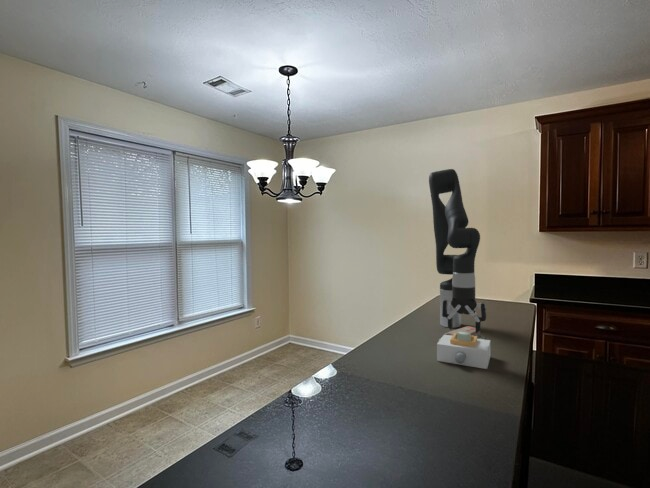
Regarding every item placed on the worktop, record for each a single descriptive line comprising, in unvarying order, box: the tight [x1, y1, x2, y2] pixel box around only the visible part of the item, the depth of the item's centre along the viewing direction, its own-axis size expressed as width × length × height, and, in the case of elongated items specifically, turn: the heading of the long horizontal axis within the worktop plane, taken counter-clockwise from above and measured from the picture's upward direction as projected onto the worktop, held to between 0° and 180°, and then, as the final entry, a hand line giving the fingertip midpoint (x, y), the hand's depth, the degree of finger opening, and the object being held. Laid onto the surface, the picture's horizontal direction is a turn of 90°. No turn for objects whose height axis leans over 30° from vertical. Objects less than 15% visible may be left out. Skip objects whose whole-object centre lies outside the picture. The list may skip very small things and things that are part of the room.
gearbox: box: [436, 333, 491, 370], centre depth 124 cm, size 15×16×8 cm
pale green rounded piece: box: [457, 332, 471, 342], centre depth 125 cm, size 4×4×9 cm
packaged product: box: [437, 325, 486, 343], centre depth 145 cm, size 18×5×10 cm
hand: (463, 330), depth 125 cm, fingers open, 8 cm apart
